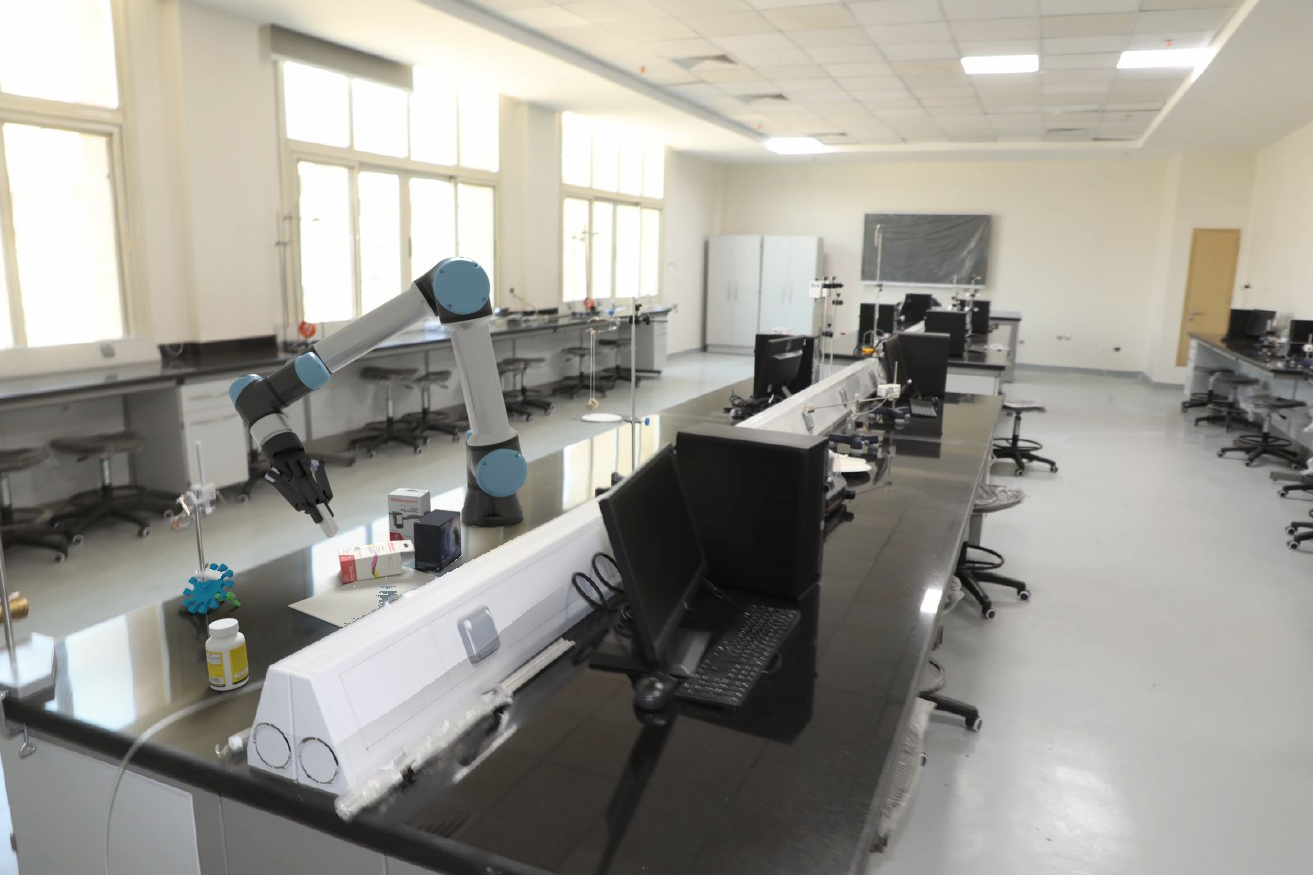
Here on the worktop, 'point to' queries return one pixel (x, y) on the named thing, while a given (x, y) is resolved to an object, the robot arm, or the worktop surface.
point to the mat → (359, 597)
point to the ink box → (406, 512)
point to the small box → (437, 540)
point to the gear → (210, 591)
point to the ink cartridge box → (372, 560)
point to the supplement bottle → (226, 655)
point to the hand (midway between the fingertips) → (333, 533)
